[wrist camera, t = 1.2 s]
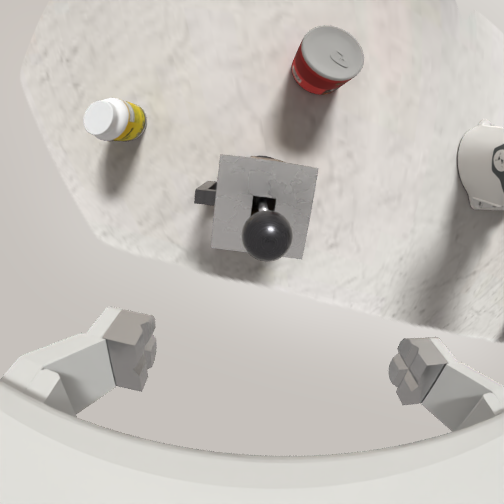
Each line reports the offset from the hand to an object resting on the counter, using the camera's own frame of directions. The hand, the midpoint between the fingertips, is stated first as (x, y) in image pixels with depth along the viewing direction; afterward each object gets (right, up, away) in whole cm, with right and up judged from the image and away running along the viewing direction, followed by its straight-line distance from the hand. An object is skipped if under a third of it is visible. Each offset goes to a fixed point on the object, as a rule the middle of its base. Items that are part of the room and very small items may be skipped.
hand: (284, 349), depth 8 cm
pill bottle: (-20, +24, +31) cm, 44 cm away
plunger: (0, +9, +26) cm, 28 cm away
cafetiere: (-1, +13, +35) cm, 37 cm away
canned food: (+9, +30, +29) cm, 43 cm away
